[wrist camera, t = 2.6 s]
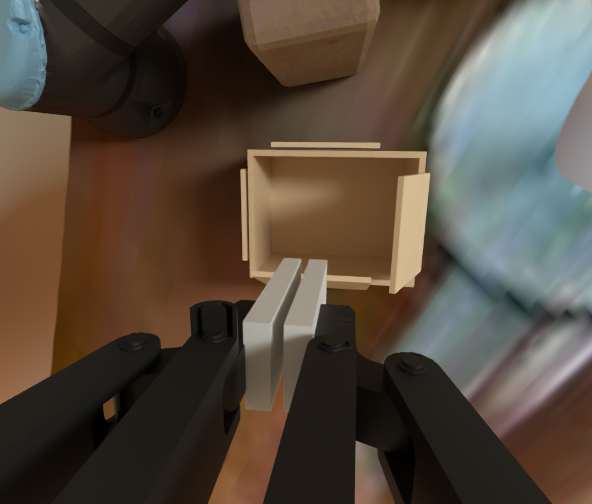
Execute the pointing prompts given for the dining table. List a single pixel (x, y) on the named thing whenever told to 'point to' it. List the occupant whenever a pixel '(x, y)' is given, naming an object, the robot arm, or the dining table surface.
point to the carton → (324, 207)
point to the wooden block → (309, 37)
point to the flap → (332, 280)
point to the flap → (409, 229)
